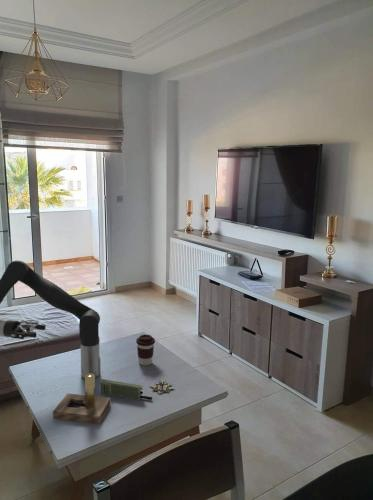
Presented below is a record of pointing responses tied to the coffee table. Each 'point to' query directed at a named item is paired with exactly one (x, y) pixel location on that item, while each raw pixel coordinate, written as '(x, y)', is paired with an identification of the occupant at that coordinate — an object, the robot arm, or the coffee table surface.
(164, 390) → the lily flower
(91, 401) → the brass peg
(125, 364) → the coffee table surface
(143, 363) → the coffee cup
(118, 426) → the coffee table surface
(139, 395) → the handheld radio
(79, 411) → the keyhole plate
